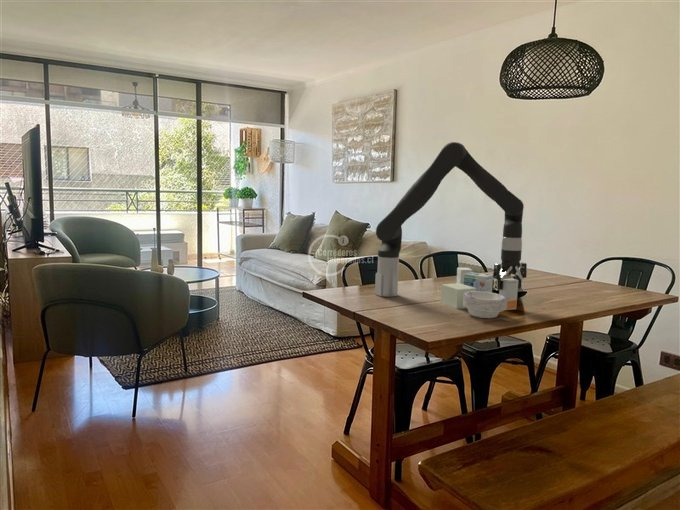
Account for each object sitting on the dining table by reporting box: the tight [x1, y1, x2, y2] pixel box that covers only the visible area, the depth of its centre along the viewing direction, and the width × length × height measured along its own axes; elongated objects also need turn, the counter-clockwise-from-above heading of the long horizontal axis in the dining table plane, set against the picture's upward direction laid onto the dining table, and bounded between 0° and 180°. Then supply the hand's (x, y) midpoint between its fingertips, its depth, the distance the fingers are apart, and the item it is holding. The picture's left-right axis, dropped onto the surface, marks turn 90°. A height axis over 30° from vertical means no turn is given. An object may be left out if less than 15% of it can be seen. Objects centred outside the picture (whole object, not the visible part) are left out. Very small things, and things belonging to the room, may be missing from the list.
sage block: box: [440, 282, 476, 310], centre depth 201 cm, size 9×11×8 cm
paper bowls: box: [463, 291, 506, 319], centre depth 185 cm, size 15×15×8 cm
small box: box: [456, 267, 474, 284], centre depth 231 cm, size 8×6×10 cm
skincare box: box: [498, 277, 519, 311], centre depth 196 cm, size 6×4×12 cm
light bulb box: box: [464, 271, 494, 293], centre depth 215 cm, size 11×7×11 cm, turn 47°
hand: (509, 289), depth 196 cm, fingers open, 8 cm apart
